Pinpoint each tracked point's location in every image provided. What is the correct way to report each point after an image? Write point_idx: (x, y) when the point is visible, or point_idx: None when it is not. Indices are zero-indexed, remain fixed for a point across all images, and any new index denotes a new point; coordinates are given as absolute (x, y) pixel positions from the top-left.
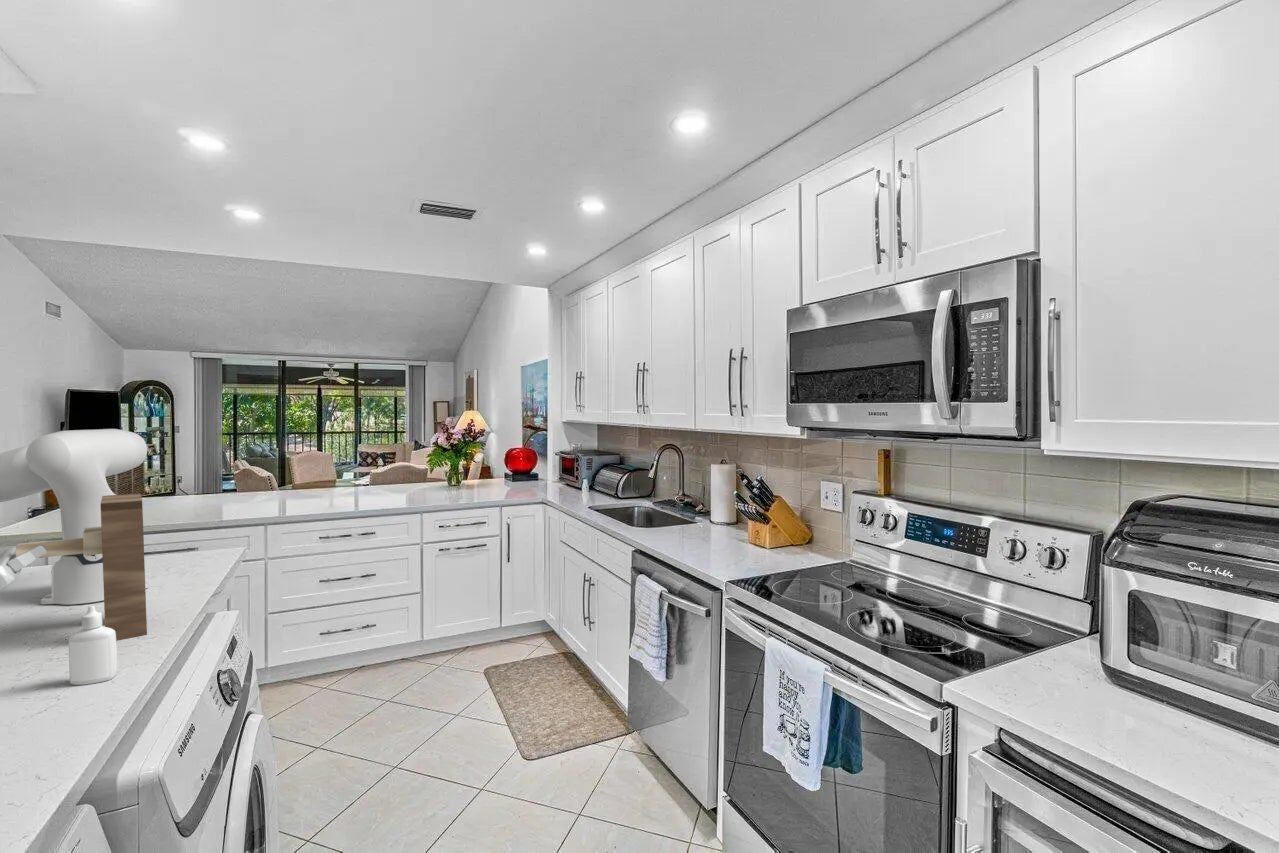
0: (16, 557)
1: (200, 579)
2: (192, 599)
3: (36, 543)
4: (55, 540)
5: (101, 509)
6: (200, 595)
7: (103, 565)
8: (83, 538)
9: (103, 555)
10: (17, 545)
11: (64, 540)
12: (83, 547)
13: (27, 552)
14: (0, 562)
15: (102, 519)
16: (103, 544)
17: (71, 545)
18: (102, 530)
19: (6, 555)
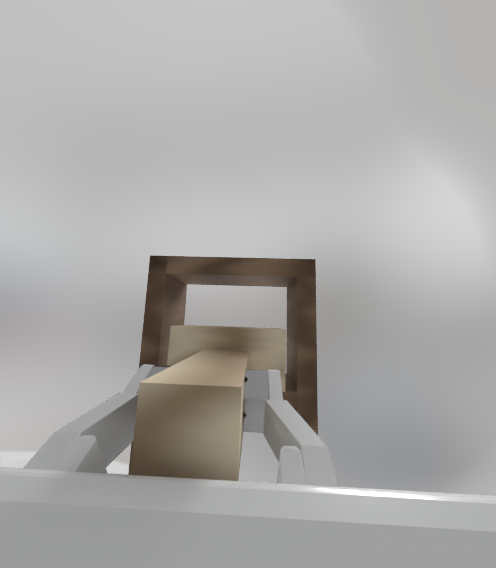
0: (318, 447)
1: (11, 454)
2: (126, 474)
3: (210, 368)
4: (191, 357)
5: (314, 272)
6: (116, 465)
7: (316, 406)
8: (285, 341)
9: (315, 380)
10: (205, 384)
11: (214, 355)
12: (285, 367)
13: (290, 406)
14: (450, 508)
15: (314, 294)
16: (316, 353)
17: (247, 367)
18: (315, 319)
19: (147, 485)
